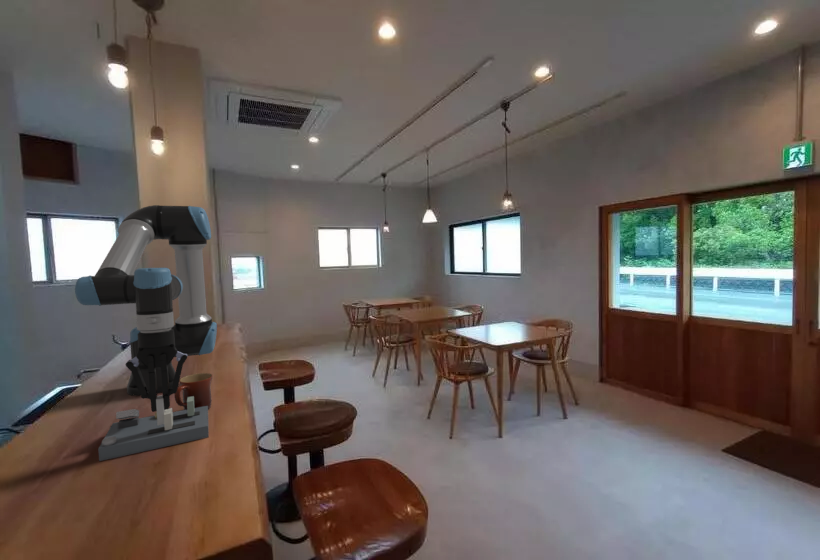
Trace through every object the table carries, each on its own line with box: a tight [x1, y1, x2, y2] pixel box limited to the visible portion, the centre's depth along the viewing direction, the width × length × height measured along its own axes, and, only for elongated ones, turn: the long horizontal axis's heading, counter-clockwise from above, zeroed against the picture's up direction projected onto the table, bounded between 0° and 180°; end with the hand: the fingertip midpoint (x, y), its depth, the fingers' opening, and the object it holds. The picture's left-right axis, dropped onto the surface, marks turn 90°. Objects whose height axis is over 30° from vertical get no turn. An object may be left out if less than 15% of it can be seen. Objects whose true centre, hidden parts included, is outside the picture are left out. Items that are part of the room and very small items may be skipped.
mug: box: [173, 372, 213, 411], centre depth 110 cm, size 12×9×10 cm
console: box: [97, 406, 210, 462], centre depth 96 cm, size 15×22×4 cm
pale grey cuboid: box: [164, 407, 174, 430], centre depth 94 cm, size 4×2×4 cm, turn 29°
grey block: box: [187, 396, 195, 416], centre depth 101 cm, size 4×2×4 cm, turn 29°
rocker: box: [115, 408, 140, 420], centre depth 96 cm, size 8×4×2 cm, turn 29°
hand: (161, 422), depth 93 cm, fingers closed
